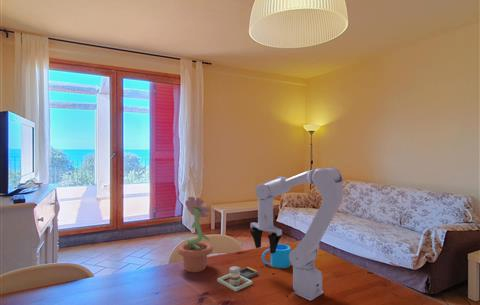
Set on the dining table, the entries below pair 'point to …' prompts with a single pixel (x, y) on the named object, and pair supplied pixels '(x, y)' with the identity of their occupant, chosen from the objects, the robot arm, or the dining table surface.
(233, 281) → the fuse
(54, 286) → the dining table surface
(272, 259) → the mug
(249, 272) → the grey square holder
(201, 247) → the decorative flower
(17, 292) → the dining table surface
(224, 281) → the parts tray
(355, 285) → the dining table surface
